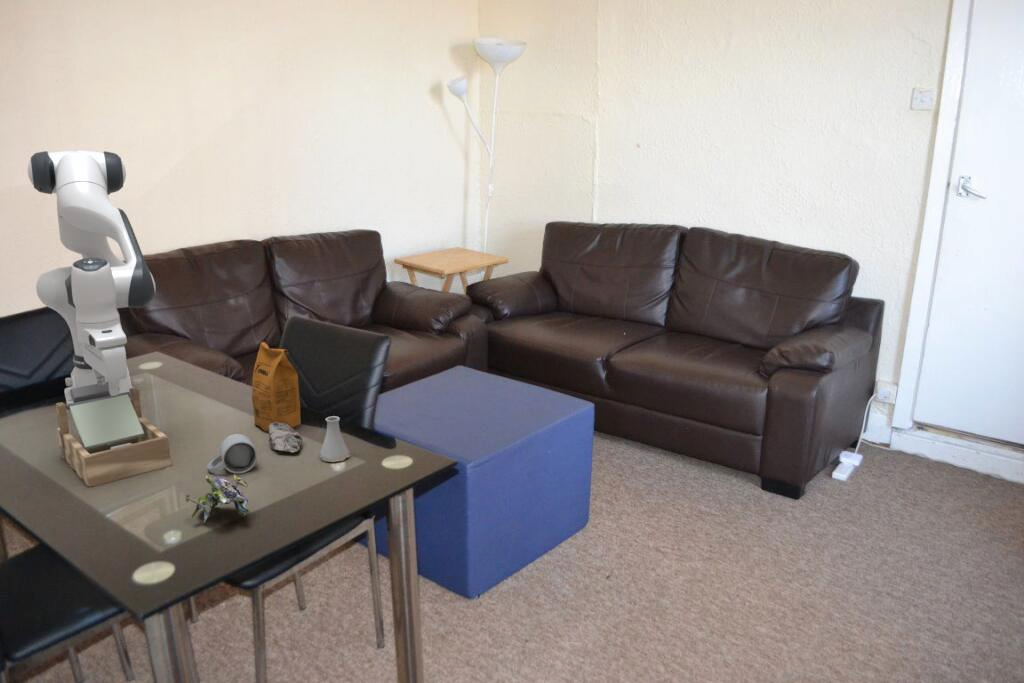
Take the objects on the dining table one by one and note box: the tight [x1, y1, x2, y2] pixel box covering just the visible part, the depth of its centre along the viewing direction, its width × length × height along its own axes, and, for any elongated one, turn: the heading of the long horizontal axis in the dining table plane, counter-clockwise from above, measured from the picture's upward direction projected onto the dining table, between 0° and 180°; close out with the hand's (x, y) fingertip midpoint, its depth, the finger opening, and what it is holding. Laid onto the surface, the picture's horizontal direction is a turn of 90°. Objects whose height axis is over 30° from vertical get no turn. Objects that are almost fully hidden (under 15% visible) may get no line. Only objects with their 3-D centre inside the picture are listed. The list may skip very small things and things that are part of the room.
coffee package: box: [251, 341, 302, 433], centre depth 213 cm, size 10×12×22 cm
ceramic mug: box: [206, 433, 258, 475], centre depth 189 cm, size 11×8×8 cm
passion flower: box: [184, 473, 249, 526], centre depth 165 cm, size 11×11×12 cm
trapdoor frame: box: [55, 386, 172, 488], centre depth 192 cm, size 23×18×14 cm
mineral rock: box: [268, 422, 303, 453], centre depth 203 cm, size 15×8×4 cm, turn 15°
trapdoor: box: [65, 382, 144, 450], centre depth 194 cm, size 16×14×3 cm
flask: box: [318, 415, 350, 460], centre depth 195 cm, size 7×7×10 cm
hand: (107, 389), depth 188 cm, fingers open, 8 cm apart
